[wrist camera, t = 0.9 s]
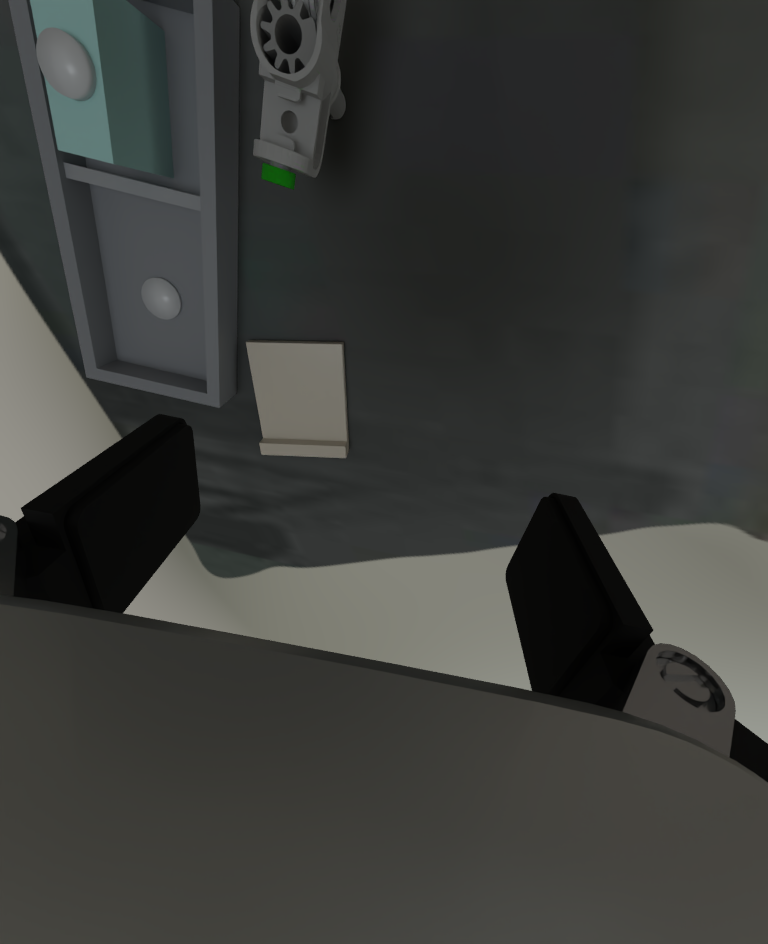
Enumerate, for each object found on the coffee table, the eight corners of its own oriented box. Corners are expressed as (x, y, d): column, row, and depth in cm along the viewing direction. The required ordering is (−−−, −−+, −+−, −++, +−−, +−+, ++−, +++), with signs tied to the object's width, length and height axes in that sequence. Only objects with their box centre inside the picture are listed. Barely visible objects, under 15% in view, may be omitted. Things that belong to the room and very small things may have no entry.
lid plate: (249, 340, 32) (240, 345, 31) (343, 342, 32) (339, 347, 30) (268, 445, 37) (261, 454, 36) (349, 448, 37) (345, 458, 35)
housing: (48, -44, 22) (-109, -163, 15) (239, 8, 22) (165, -86, 16) (115, 365, 34) (44, 394, 28) (236, 393, 35) (194, 428, 28)
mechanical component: (297, 192, 27) (240, 171, 18) (326, -27, 21) (263, -202, 13) (339, 206, 27) (301, 191, 18) (377, -7, 22) (349, -167, 13)
